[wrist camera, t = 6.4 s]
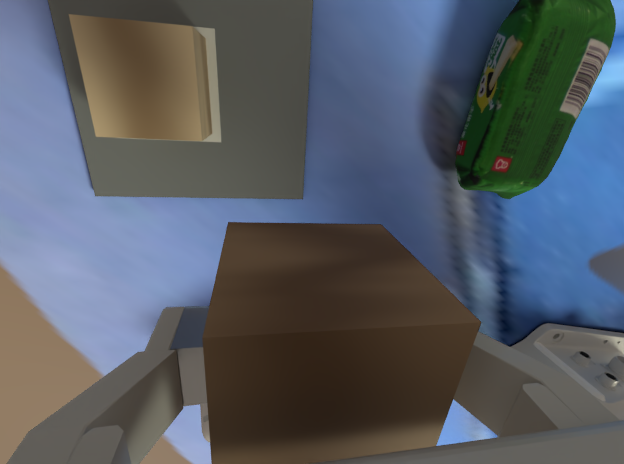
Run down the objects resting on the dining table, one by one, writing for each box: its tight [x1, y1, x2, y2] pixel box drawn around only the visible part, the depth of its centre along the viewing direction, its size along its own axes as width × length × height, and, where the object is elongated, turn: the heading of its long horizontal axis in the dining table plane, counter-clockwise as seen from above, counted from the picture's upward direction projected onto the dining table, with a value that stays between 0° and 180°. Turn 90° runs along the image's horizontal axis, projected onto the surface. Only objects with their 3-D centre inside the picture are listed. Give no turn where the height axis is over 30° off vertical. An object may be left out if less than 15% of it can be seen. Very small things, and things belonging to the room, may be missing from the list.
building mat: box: [48, 0, 313, 199], centre depth 22 cm, size 16×14×1 cm
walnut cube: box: [202, 222, 481, 464], centre depth 8 cm, size 5×5×5 cm
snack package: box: [455, 0, 616, 199], centre depth 23 cm, size 7×16×5 cm, turn 172°
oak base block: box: [69, 14, 212, 141], centre depth 19 cm, size 6×6×4 cm
